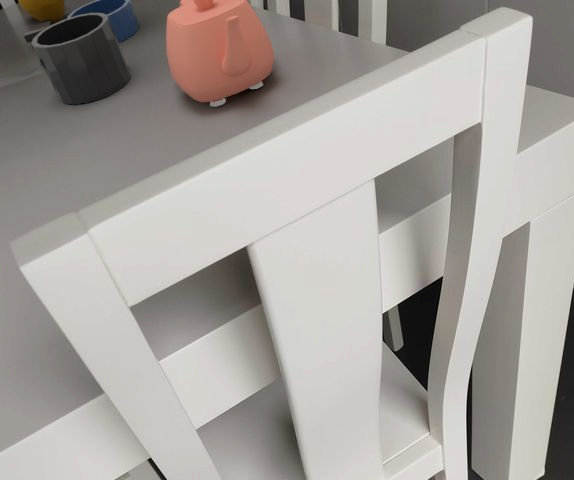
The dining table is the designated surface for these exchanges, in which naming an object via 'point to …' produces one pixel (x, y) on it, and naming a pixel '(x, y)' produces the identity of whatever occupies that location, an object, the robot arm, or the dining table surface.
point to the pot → (82, 58)
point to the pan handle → (33, 34)
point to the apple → (44, 9)
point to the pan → (113, 15)
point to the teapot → (217, 48)
